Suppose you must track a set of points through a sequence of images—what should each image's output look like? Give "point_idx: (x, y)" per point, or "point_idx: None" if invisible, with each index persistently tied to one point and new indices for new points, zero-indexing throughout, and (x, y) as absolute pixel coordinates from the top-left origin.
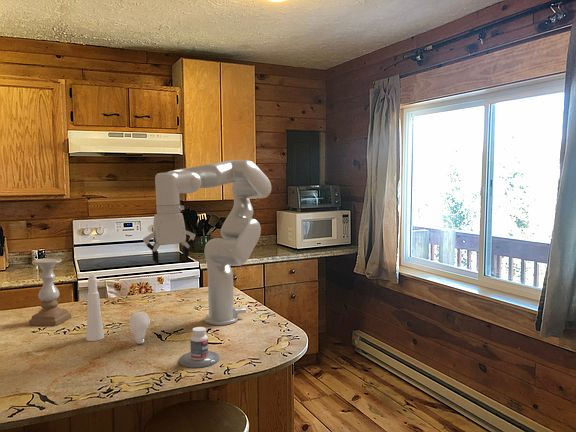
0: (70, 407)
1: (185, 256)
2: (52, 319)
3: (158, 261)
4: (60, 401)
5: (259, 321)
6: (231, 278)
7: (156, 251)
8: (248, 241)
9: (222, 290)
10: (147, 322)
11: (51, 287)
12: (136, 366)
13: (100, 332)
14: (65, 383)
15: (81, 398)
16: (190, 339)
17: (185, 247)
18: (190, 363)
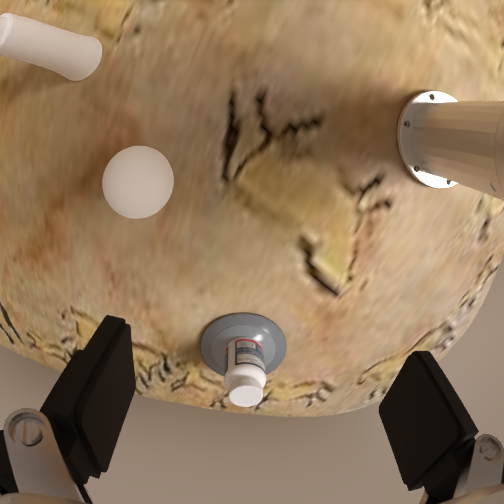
0: (38, 361)
1: (387, 430)
2: None
3: (131, 397)
4: (24, 339)
5: (481, 219)
6: None
7: (87, 473)
8: None
9: (489, 193)
10: (156, 212)
11: None
12: (120, 302)
13: (79, 70)
14: (19, 290)
15: (45, 350)
16: (225, 374)
17: (429, 483)
18: (215, 361)
